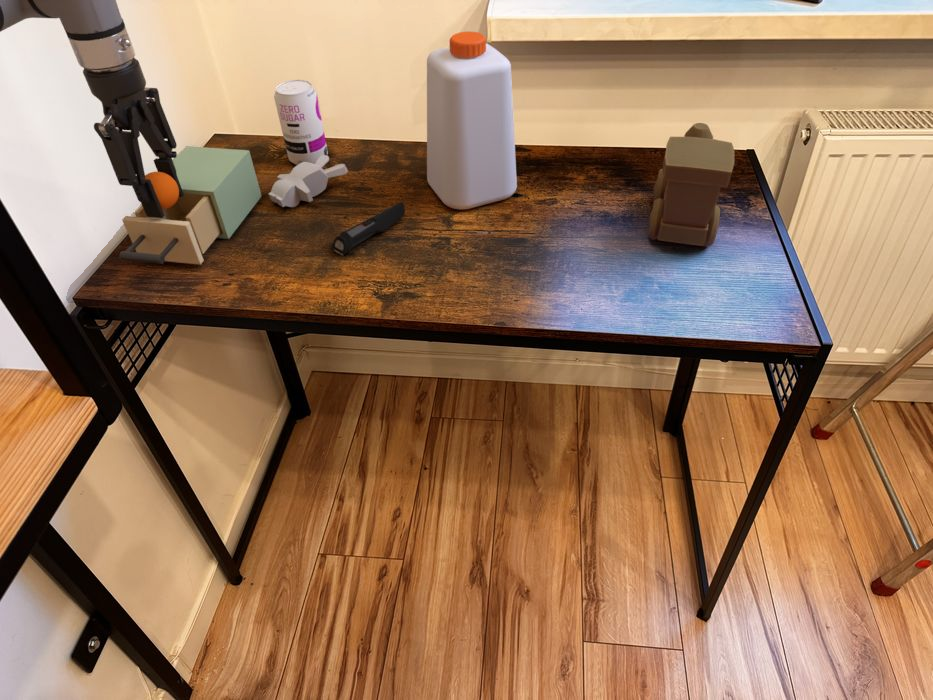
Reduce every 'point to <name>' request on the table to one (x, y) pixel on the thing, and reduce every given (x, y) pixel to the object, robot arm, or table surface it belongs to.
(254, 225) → the table surface
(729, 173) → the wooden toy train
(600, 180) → the table surface
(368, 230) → the electric trimmer
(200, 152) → the cabinet
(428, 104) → the plastic bottle
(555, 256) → the table surface
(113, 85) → the robot arm
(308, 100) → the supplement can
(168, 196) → the ball
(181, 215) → the drawer
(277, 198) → the bunny figurine
